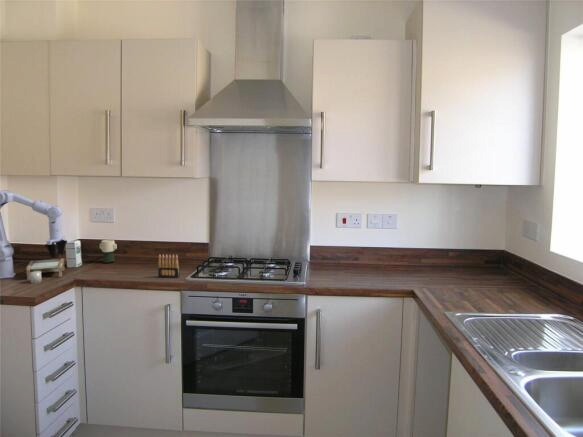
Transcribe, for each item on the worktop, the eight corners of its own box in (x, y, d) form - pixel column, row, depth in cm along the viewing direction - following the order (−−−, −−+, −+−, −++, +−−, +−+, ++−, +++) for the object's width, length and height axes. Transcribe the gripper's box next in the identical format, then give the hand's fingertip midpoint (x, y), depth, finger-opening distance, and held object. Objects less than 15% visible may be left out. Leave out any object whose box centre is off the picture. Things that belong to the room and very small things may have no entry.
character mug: (120, 261, 256) (119, 239, 255) (113, 264, 249) (112, 241, 248) (104, 260, 258) (103, 239, 257) (96, 263, 251) (95, 241, 250)
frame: (27, 280, 215) (26, 267, 214) (32, 272, 229) (31, 260, 228) (61, 276, 220) (60, 264, 220) (64, 270, 235) (63, 258, 234)
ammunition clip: (158, 277, 220) (157, 254, 218) (159, 276, 221) (158, 253, 220) (178, 277, 218) (177, 254, 217) (179, 277, 220) (179, 253, 219)
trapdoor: (34, 264, 227) (34, 260, 227) (60, 262, 232) (60, 258, 232) (30, 269, 215) (30, 265, 215) (57, 267, 220) (57, 263, 220)
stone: (29, 283, 208) (28, 273, 207) (31, 281, 212) (30, 271, 211) (41, 282, 210) (40, 272, 209) (42, 280, 214) (41, 270, 213)
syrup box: (77, 267, 241) (75, 241, 239) (66, 267, 241) (65, 241, 240) (82, 265, 247) (80, 240, 245) (72, 265, 247) (70, 240, 245)
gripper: (55, 232, 216) (57, 258, 218) (70, 228, 230) (71, 253, 232) (41, 232, 216) (43, 258, 217) (57, 228, 230) (58, 253, 232)
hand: (57, 255), depth 225 cm, fingers open, 7 cm apart
